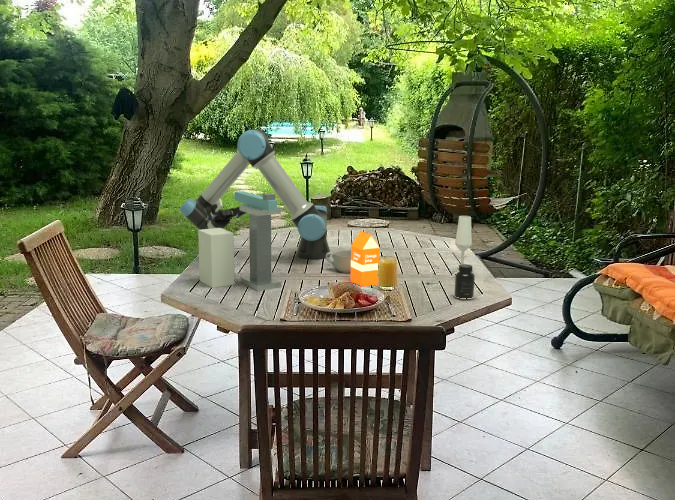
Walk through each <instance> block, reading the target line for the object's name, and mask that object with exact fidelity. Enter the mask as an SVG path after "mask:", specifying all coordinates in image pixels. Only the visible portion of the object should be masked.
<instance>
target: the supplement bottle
mask: <svg viewBox="0 0 675 500" xmlns="http://www.w3.org/2000/svg"><path fill="white" fill-rule="evenodd" d="M458 270H459V272H457V273H456V275H454V276H455V277H454V279H455V280H454V295H455V296H456V297H459V298H472V297H473V298H474V294H475V293H474V292H475V278H476V277H475V274H474V273H473V265H471V264H468V263H467V264H466V263H464V264H461V263H460V264H459V265H458ZM455 296H454V297H455ZM473 298H472V299H473Z"/></svg>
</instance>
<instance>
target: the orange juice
mask: <svg viewBox="0 0 675 500" xmlns="http://www.w3.org/2000/svg"><path fill="white" fill-rule="evenodd" d="M350 250H351V272H350V282H351V283H353V284H355V283H356V284H355V285H357V284H359V285H363V286H364V287H370V286H371V285H372V286H379V277H378V276H377V275H378V263H379V264H380V247H379V245H378V243H377V241H376V239H375V238H374V237H373V235H372V234H371V233H368V232H366V231H362V230H360V231H359V233H357V236H356V237H355V239H354V241H353V242H352V244H351V245H350ZM359 285H358V286H359ZM372 286H371V287H372Z"/></svg>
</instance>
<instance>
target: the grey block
mask: <svg viewBox="0 0 675 500" xmlns="http://www.w3.org/2000/svg"><path fill="white" fill-rule="evenodd" d="M197 233H198V235H197V236H198V265H199V267H198V268H199V269H198V270H199V271H198V272H199V281H200V282H201V283H204V284H205V285H207V286H208V287H210V288H212V289H213V288H221V287H227V286H234V285H235V249H234V248H235V243H234V241H235V240H234V239H235V238H234V236H235V235H234V232H232V231H230V230H227V229H225V228H224V229H222V228H212V229H202V230H199V229H197Z"/></svg>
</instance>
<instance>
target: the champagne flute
mask: <svg viewBox="0 0 675 500" xmlns="http://www.w3.org/2000/svg"><path fill="white" fill-rule="evenodd" d="M457 222H458V223H457V230H456V236H455V242H454V244H455V246H456V247H457V249H458V250H459V251H460V252H461V253H460V265H461V264H465V252H466V251H467V250H468V249H470V248H471V246H472V245H473V238H472V237H473V236H472V217H471V216H469V215H459V216H458V221H457ZM457 272H459V269H458V270H457V271H455V272H454V273H457Z"/></svg>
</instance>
